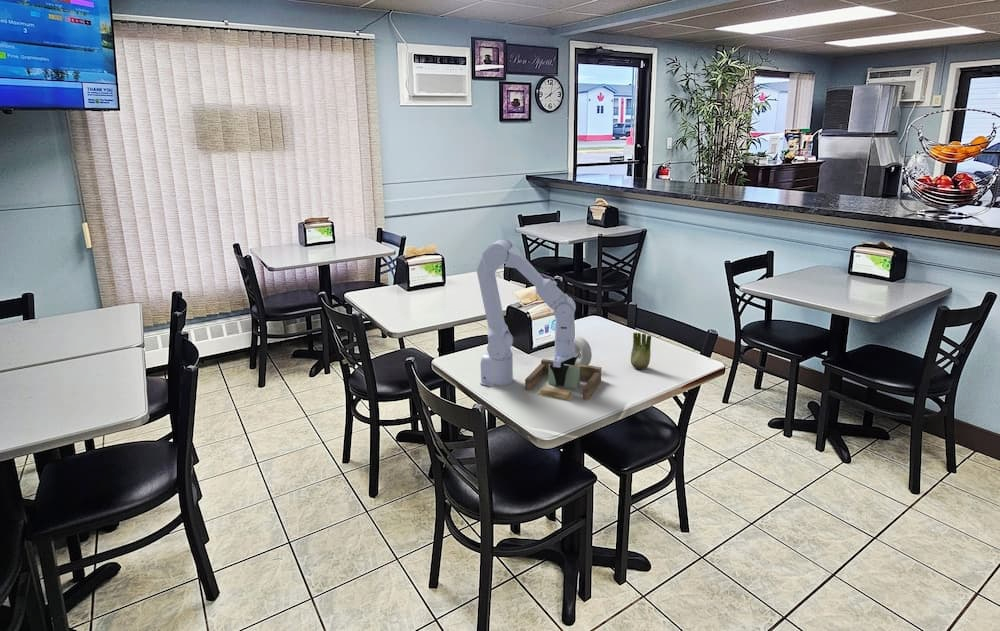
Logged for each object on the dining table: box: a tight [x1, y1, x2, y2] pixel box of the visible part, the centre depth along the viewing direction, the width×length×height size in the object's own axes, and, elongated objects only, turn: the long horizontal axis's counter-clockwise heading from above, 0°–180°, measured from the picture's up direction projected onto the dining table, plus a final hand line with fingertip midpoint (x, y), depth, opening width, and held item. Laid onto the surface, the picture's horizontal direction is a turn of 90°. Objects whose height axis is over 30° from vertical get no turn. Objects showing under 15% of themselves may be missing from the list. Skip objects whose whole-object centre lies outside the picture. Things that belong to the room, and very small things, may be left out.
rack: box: [524, 358, 603, 401], centre depth 178 cm, size 19×15×5 cm
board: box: [548, 364, 581, 390], centre depth 177 cm, size 9×2×7 cm, turn 66°
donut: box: [574, 336, 593, 366], centre depth 192 cm, size 10×4×10 cm, turn 25°
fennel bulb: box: [630, 332, 652, 370], centre depth 189 cm, size 6×5×12 cm
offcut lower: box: [537, 390, 574, 401], centre depth 171 cm, size 10×3×2 cm, turn 65°
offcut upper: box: [539, 385, 572, 400], centre depth 171 cm, size 8×3×2 cm, turn 62°
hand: (564, 381), depth 178 cm, fingers open, 7 cm apart
